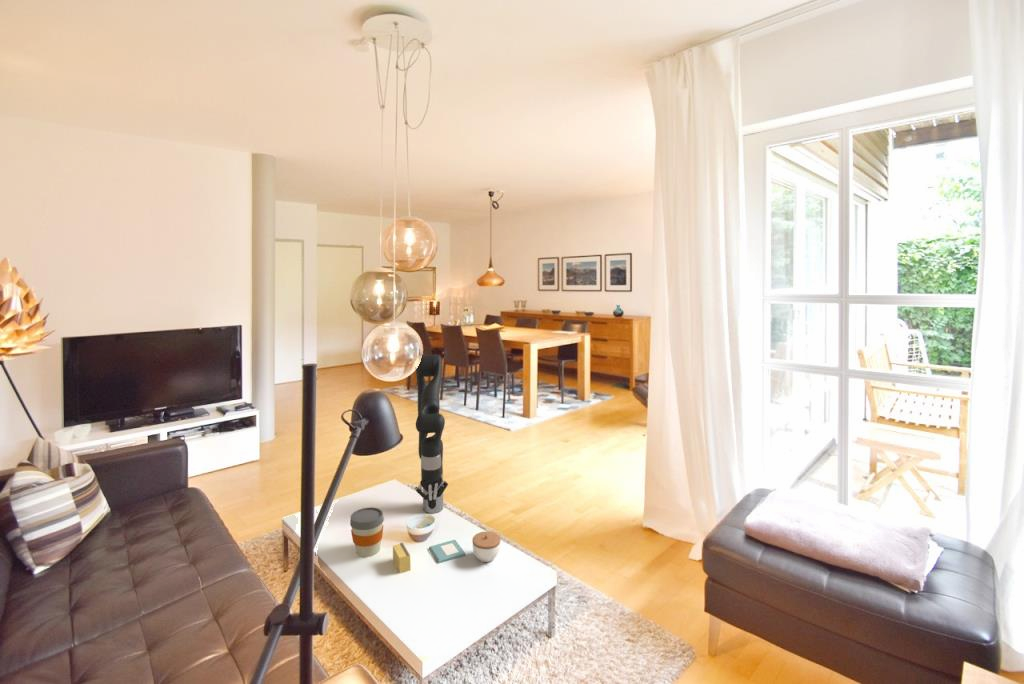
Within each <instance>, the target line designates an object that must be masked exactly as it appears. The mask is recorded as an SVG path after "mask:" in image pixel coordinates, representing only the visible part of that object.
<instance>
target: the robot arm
mask: <svg viewBox="0 0 1024 684" xmlns="http://www.w3.org/2000/svg"><path fill="white" fill-rule="evenodd" d="M421 355H422V358H421V362H420V364H419V366H418V368H417V369H416V368H415V375H416V384H417V385H416V386H417V418H416V421H415V429H416V431H417V432H418V457H419V460H420V467H421V468H420V473H421V474H420V478H421V480H420V482H419V485H418V486H415V487H414V490H415V491H416V492H417V494H418V495H420V497H422V510H423V511H424V512H425V513H427V512H428V513H427V514H435V513H440V512H441V511H442V510H444V492H445V490H446V488H447V487H448V486H449V483H448V482H447V481H446V480H444V469H443V460H444V459H443V457H444V456H443V455H444V444H443V441H442V435H443V431H444V428H445V424H446V422H445V421H446V420H445V416H443V414H442V413H440V406H441V405H440V392H441V391H440V390H441V384H442V377H443V359H442V358H443V357H442V356H441V355H439V354H421ZM426 377H430V378H432V379H431V380H430V381H429V383H428V384H427V382H426ZM429 434H433V435H432V436H428V435H429Z"/></svg>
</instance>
